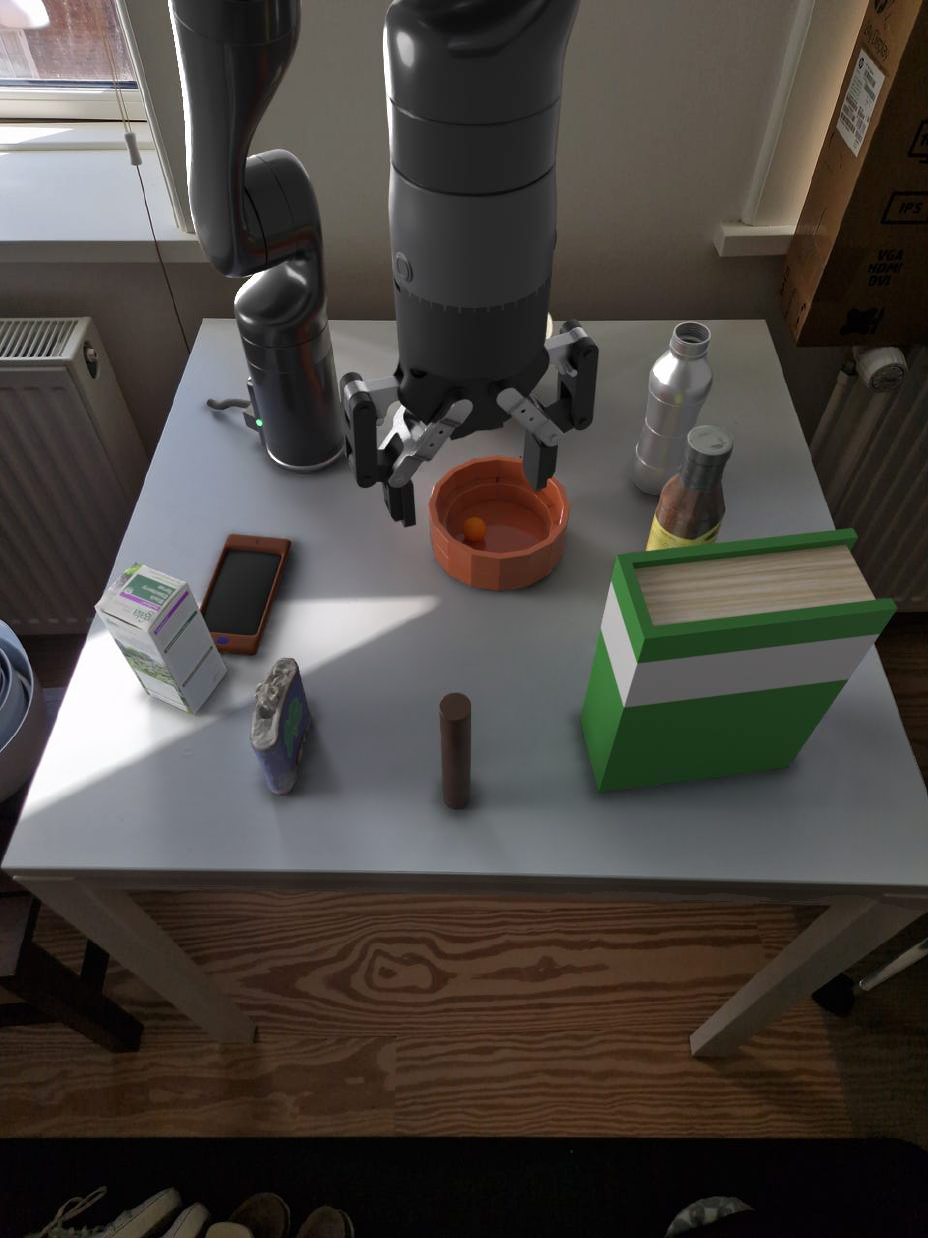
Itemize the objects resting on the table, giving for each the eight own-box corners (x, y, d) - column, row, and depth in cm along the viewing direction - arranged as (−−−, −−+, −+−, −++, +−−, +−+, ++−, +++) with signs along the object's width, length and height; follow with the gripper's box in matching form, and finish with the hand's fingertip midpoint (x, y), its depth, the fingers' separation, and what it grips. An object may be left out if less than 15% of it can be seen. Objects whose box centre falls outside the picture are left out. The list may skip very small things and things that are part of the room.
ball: (467, 517, 89) (490, 523, 90) (464, 512, 92) (487, 517, 92) (460, 541, 90) (484, 546, 91) (458, 535, 93) (480, 540, 93)
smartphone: (184, 645, 84) (227, 531, 92) (186, 650, 84) (229, 537, 93) (254, 652, 83) (291, 537, 92) (256, 658, 84) (293, 543, 93)
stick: (437, 800, 75) (432, 709, 62) (453, 779, 76) (451, 686, 64) (460, 815, 75) (459, 726, 62) (475, 794, 76) (477, 702, 63)
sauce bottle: (696, 615, 87) (748, 474, 71) (634, 605, 88) (672, 463, 72) (698, 566, 91) (748, 422, 75) (640, 557, 92) (677, 413, 76)
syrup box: (229, 671, 83) (191, 578, 72) (194, 719, 80) (147, 630, 68) (181, 650, 85) (135, 556, 73) (144, 697, 82) (90, 606, 70)
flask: (292, 798, 75) (270, 740, 67) (260, 794, 76) (233, 736, 67) (315, 708, 81) (297, 644, 72) (285, 705, 81) (263, 640, 72)
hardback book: (760, 697, 82) (853, 527, 62) (788, 767, 77) (897, 608, 58) (580, 720, 80) (617, 554, 61) (598, 792, 76) (644, 638, 56)
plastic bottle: (619, 493, 97) (650, 345, 81) (635, 455, 101) (668, 306, 85) (675, 509, 96) (717, 361, 80) (689, 469, 100) (732, 320, 83)
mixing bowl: (405, 556, 92) (401, 518, 87) (478, 477, 99) (479, 438, 94) (518, 616, 87) (521, 580, 82) (587, 529, 94) (594, 491, 89)
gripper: (576, 187, 43) (550, 432, 56) (302, 242, 40) (342, 487, 53) (647, 265, 39) (601, 510, 52) (347, 333, 36) (378, 575, 49)
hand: (470, 498), depth 53 cm, fingers open, 8 cm apart
